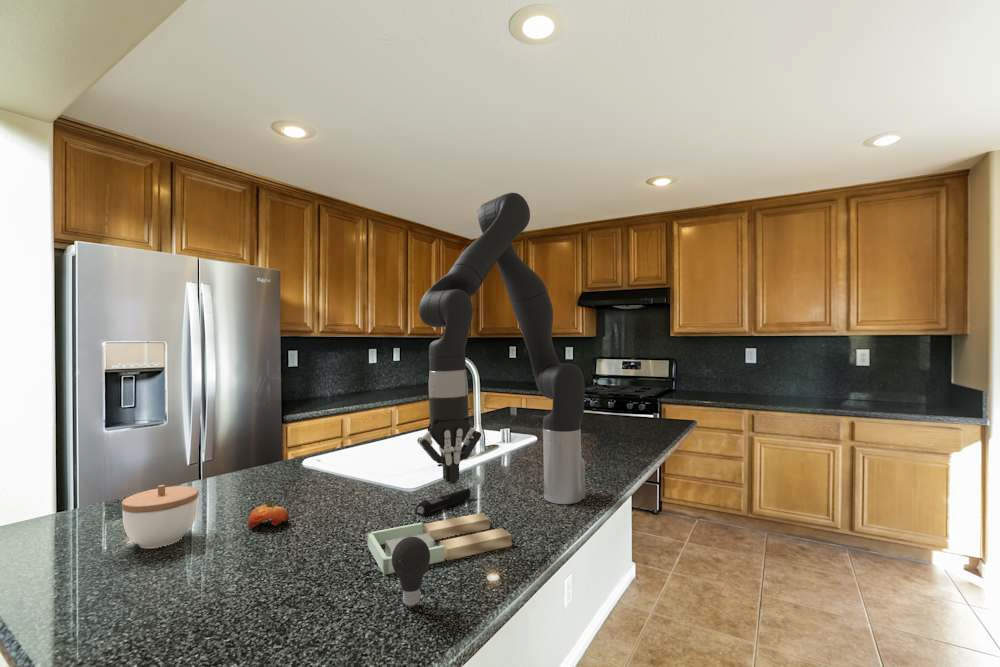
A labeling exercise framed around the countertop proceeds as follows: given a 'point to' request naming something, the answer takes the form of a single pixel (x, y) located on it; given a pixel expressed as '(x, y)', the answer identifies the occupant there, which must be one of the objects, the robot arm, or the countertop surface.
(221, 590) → the countertop surface
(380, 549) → the box
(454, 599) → the countertop surface
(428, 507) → the electric trimmer
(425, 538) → the metal chip
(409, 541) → the light bulb
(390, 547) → the metal chip
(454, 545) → the slot rails
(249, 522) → the tomato
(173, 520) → the lidded bowl
